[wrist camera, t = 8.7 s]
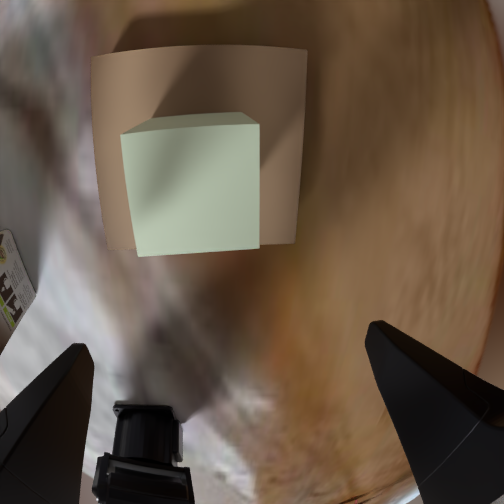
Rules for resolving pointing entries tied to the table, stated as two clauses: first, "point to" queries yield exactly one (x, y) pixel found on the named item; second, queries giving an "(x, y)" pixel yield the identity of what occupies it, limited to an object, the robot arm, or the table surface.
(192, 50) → the walnut riser block
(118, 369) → the table surface
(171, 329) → the table surface
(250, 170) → the sage block
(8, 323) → the coffee box
